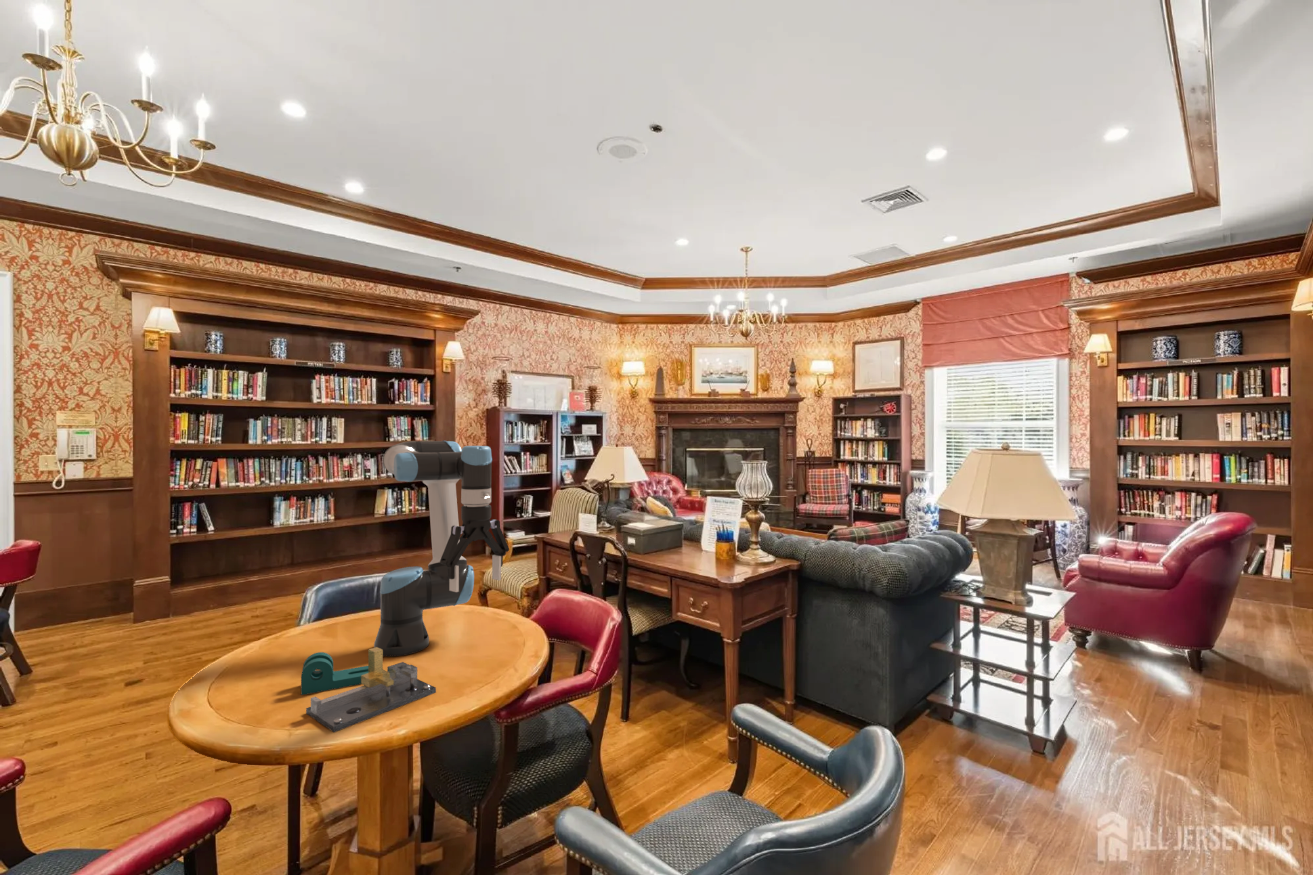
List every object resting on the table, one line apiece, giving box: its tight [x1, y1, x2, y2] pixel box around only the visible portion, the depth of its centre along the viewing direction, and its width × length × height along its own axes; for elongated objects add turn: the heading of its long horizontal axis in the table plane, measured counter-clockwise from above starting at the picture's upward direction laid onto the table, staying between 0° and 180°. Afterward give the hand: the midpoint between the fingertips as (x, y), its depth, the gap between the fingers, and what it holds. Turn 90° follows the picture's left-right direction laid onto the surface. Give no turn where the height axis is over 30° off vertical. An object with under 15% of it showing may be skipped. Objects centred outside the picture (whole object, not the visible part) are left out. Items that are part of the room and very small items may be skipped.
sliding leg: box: [360, 647, 394, 697], centre depth 138 cm, size 9×5×10 cm, turn 53°
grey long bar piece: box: [310, 661, 418, 715], centre depth 136 cm, size 9×24×4 cm, turn 143°
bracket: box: [300, 651, 368, 696], centre depth 147 cm, size 18×7×8 cm, turn 118°
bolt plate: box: [305, 678, 437, 733], centre depth 136 cm, size 14×24×2 cm, turn 143°
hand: (476, 585), depth 150 cm, fingers open, 13 cm apart
